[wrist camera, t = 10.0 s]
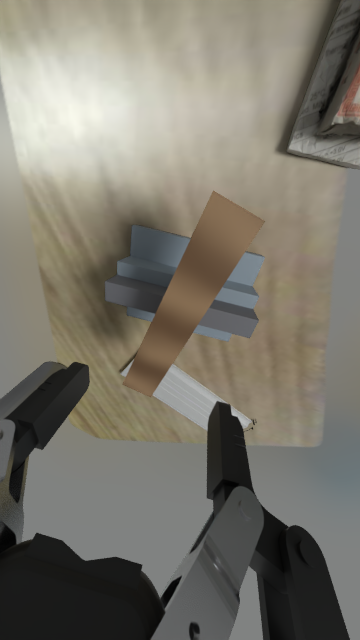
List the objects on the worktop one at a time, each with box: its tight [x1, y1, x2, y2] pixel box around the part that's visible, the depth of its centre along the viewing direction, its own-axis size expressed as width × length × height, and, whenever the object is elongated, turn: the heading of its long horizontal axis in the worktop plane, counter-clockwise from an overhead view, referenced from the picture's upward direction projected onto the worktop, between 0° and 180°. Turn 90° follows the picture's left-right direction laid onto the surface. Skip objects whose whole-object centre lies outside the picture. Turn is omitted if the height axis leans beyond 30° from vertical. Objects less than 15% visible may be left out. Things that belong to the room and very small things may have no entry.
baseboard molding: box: [121, 359, 257, 432], centre depth 40 cm, size 31×3×12 cm
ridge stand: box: [105, 225, 265, 341], centre depth 24 cm, size 14×18×9 cm
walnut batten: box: [123, 191, 265, 397], centre depth 19 cm, size 22×4×4 cm, turn 154°
